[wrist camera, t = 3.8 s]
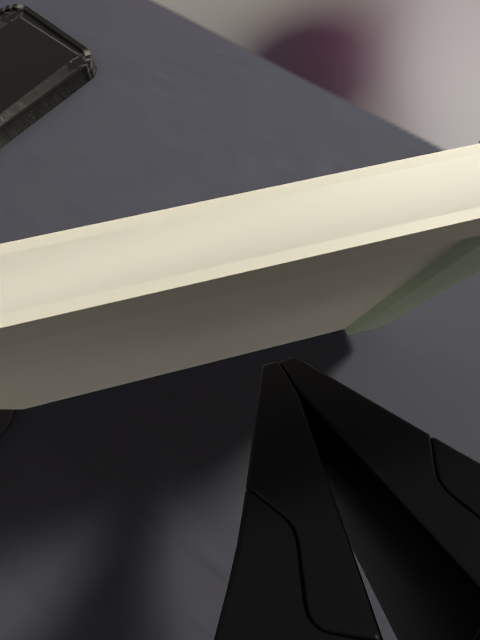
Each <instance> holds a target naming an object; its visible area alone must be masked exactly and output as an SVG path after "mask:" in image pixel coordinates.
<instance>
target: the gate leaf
mask: <svg viewBox="0 0 480 640" xmlns="http://www.w3.org/2000/svg"><path fill="white" fill-rule="evenodd" d="M479 270H480V141H479V143H478V144H475V145H470V146H465V147H461V148H455V149H451V150H446V151H441V152H436V153H432V154H427V155H422V156H417V157H413V158H408V159H403V160H398V161H393V162H389V163H384V164H379V165H374V166H370V167H365V168H360V169H355V170H351V171H346V172H341V173H336V174H331V175H327V176H322V177H317V178H312V179H308V180H303V181H298V182H293V183H289V184H284V185H279V186H274V187H269V188H265V189H260V190H255V191H250V192H246V193H241V194H236V195H231V196H227V197H222V198H217V199H212V200H208V201H203V202H198V203H193V204H188V205H184V206H179V207H174V208H169V209H165V210H160V211H155V212H150V213H146V214H141V215H136V216H131V217H126V218H122V219H117V220H112V221H107V222H103V223H98V224H93V225H88V226H84V227H79V228H74V229H69V230H64V231H60V232H55V233H50V234H45V235H41V236H36V237H31V238H26V239H22V240H17V241H12V242H7V243H2V244H0V409H26V408H30V407H34V406H38V405H42V404H46V403H50V402H54V401H59V400H63V399H67V398H71V397H75V396H79V395H83V394H87V393H91V392H95V391H99V390H103V389H107V388H111V387H115V386H119V385H123V384H127V383H131V382H135V381H139V380H143V379H147V378H151V377H155V376H159V375H163V374H167V373H171V372H175V371H179V370H183V369H187V368H191V367H195V366H199V365H203V364H207V363H211V362H215V361H219V360H223V359H227V358H231V357H235V356H239V355H243V354H247V353H251V352H255V351H259V350H263V349H267V348H271V347H275V346H279V345H283V344H287V343H291V342H295V341H299V340H303V339H307V338H311V337H315V336H319V335H323V334H327V333H331V332H335V331H339V330H343V329H345V330H346V333H347V335H351V334H355V333H359V332H363V331H367V330H371V329H375V328H379V327H382V326H384V325H386V324H387V323H389V322H391V321H393V320H394V319H396V318H398V317H399V316H401V315H403V314H405V313H406V312H408V311H410V310H412V309H413V308H415V307H417V306H418V305H420V304H422V303H424V302H425V301H427V300H429V299H431V298H432V297H434V296H436V295H437V294H439V293H441V292H443V291H444V290H446V289H448V288H449V287H451V286H453V285H455V284H456V283H458V282H460V281H462V280H463V279H465V278H467V277H468V276H470V275H472V274H474V273H475V272H477V271H479Z"/></svg>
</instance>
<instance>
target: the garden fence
mask: <svg viewBox="0 0 480 640" xmlns="http://www.w3.org/2000/svg"><path fill="white" fill-rule="evenodd" d="M13 414H14V409H0V434H2V433H3V432H4V431H5V429H6V428H7V427H8V425H9V424H10V422H11V420H12V417H13Z"/></svg>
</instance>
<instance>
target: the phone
mask: <svg viewBox="0 0 480 640" xmlns="http://www.w3.org/2000/svg"><path fill="white" fill-rule="evenodd" d="M95 74H96V66H95V63H94V61H93V58H92V56H91V53H90V51H89V50H88V49H87V48H86V47H85V46H84V45H82V44H81V43H79V42H78V41H76V40H75V39H73V38H72V37H71V36H69V35H68V34H66V33H65V32H63V31H62V30H60V29H59V28H58V27H56V26H55V25H53V24H52V23H50V22H49V21H47V20H46V19H44V18H43V17H42V16H40V15H39V14H37V13H36V12H34V11H33V10H31V9H30V8H29V7H27V6H25V5H21V4H12V5H8V6H5V7H3V8H1V9H0V148H2V147H3V146H4V145H6V144H7V143H8V142H10V141H11V140H12V139H14V138H15V137H16V136H18V135H19V134H20V133H22V132H23V131H24V130H26V129H27V128H28V127H29V126H31V125H32V124H33V123H35V122H36V121H37V120H39V119H40V118H41V117H43V116H44V115H45V114H47V113H48V112H49V111H51V110H52V109H53V108H55V107H56V106H57V105H58V104H60V103H61V102H62V101H64V100H65V99H66V98H68V97H69V96H70V95H72V94H73V93H74V92H76V91H77V90H78V89H80V88H81V87H82V86H84V85H85V84H86V83H87V82H89V81H90V80H91V79H92V78H93V77H94V76H95Z"/></svg>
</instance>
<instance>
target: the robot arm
mask: <svg viewBox="0 0 480 640" xmlns="http://www.w3.org/2000/svg"><path fill="white" fill-rule="evenodd" d="M246 490H247V491H246V492H245V497H244V505H243V512H242V518H241V524H240V530H239V536H238V542H237V548H236V552H235V556H234V561H233V565H232V570H231V574H230V579H229V583H228V587H227V591H226V595H225V599H224V603H223V607H222V611H221V615H220V619H219V623H218V627H217V630H216V634H215V638H214V640H383V638H382V635H381V632H380V629H379V626H378V624H377V621H376V618H375V615H374V612H373V609H372V606H371V603H370V600H369V597H368V594H367V592H366V589H365V586H364V583H363V580H362V577H361V574H360V571H359V568H358V565H357V563H356V560H355V557H354V554H353V551H354V553H355V555H356V557H357V559H358V561H359V563H360V565H361V567H362V569H363V571H364V573H365V575H366V577H367V579H368V581H369V583H370V585H371V587H372V589H373V591H374V593H375V595H376V597H377V599H378V601H379V603H380V605H381V607H382V609H383V611H384V613H385V615H386V617H387V619H388V621H389V623H390V625H391V627H392V629H393V631H394V633H395V635H396V637H397V639H398V640H480V463H478V462H476V461H475V460H473V459H471V458H469V457H467V456H466V455H464V454H462V453H460V452H458V451H457V450H455V449H453V448H451V447H450V446H448V445H446V444H445V443H443V442H441V441H439V440H438V439H436V438H431V437H430V435H429V434H427V433H425V432H424V431H422V430H420V429H419V428H417V427H415V426H413V425H412V424H410V423H408V422H407V421H405V420H403V419H401V418H400V417H398V416H396V415H395V414H393V413H391V412H389V411H388V410H386V409H384V408H383V407H381V406H379V405H377V404H376V403H374V402H372V401H371V400H369V399H367V398H365V397H364V396H362V395H360V394H359V393H357V392H355V391H353V390H352V389H350V388H348V387H347V386H345V385H343V384H341V383H340V382H338V381H336V380H335V379H333V378H331V377H329V376H328V375H326V374H324V373H323V372H321V371H319V370H318V369H316V368H314V367H312V366H311V365H309V364H307V363H306V362H304V361H302V360H300V359H299V358H296V357H292V358H289V359H285V360H281V361H280V363H279V362H273V363H269V364H265V365H263V366H262V370H261V378H260V385H259V393H258V400H257V408H256V416H255V423H254V431H253V438H252V446H251V454H250V461H249V469H248V476H247V484H246ZM351 547H352V548H351ZM352 549H353V551H352Z"/></svg>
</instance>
